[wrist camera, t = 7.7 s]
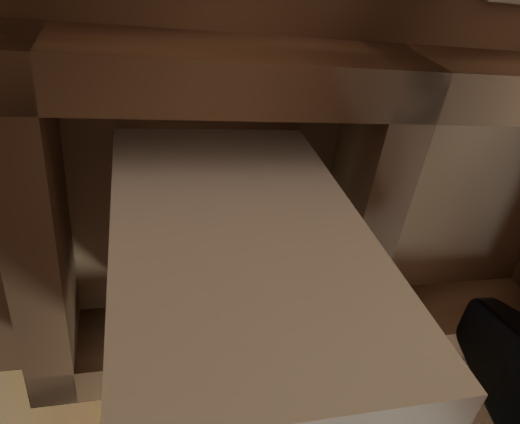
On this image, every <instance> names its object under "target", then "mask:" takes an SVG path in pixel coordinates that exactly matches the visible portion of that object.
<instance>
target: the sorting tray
mask: <svg viewBox="0 0 520 424" xmlns="http://www.w3.org/2000/svg"><path fill="white" fill-rule="evenodd" d="M114 128H136V129H252V130H300V131H301V132H302V134H303V135H304V137H305V138H306V139H307V141H308V142H309V144H310V145H311V146H312V148H313V149H314V151H315V152H316V154H317V155H318V156H319V158H320V159H321V161H322V162H323V163H324V165H325V166H326V168H327V169H328V170H329V172H330V173H331V175H332V176H333V177H334V179H335V180H336V182H337V183H338V184H339V186H340V187H341V189H342V190H343V192H344V193H345V194H346V196H347V197H348V199H349V200H350V201H351V203H352V204H353V206H354V207H355V208H356V210H357V211H358V213H359V214H360V215H361V217H362V218H363V220H364V221H365V222H366V224H367V225H368V227H369V228H370V230H371V231H372V232H373V234H374V235H375V237H376V238H377V239H378V241H379V242H380V244H381V245H382V246H383V248H384V249H385V251H386V252H387V253H388V255H389V256H390V258H391V259H392V261H393V262H394V263H395V265H396V266H397V268H398V269H399V270H400V272H401V273H402V275H403V276H404V277H405V279H406V280H407V282H408V283H409V284H410V286H411V287H412V289H413V290H414V291H415V293H416V294H417V296H418V297H419V299H420V300H421V301H422V303H423V304H424V306H425V307H426V308H427V310H428V311H429V313H430V314H431V315H432V317H433V318H434V320H435V321H436V322H437V324H438V325H439V327H440V328H441V329H442V331H443V332H444V334H445V335H446V337H447V338H448V339H449V341H450V342H451V344H452V345H453V346H454V348H455V349H456V351H457V352H458V353H459V355H460V356H461V357H464V355H463V353H462V351H461V348H460V346H459V344H458V341H457V337H456V328H457V326H458V323H459V321H460V319H461V317H462V315H463V313H464V311H465V308H466V306H467V304H468V302H469V301H470V300H471V299H473V298H479V297H494V298H496V299H498V300H500V301H502V302H503V303H505V304H507V305H509V306H511V307H512V308H514V309H516V310H518V311H519V312H520V0H0V371H10V370H20V369H22V371H23V375H24V380H25V384H26V389H27V393H28V398H29V402H30V407H31V408H37V407H46V406H54V405H63V404H71V403H79V402H88V401H96V400H102V382H103V360H104V337H105V315H106V293H107V270H108V248H109V226H110V203H111V181H112V159H113V137H114Z"/></svg>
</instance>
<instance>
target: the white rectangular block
mask: <svg viewBox="0 0 520 424" xmlns="http://www.w3.org/2000/svg"><path fill="white" fill-rule="evenodd" d="M487 396H488V394H487V393H486V391H485V390H484V389H483V387H482V386H481V384H480V383H479V382H478V380H477V379H476V377H475V376H474V375H473V373H472V372H471V370H470V369H469V367H468V366H467V365H466V363H465V362H464V360H463V359H462V358H461V356H460V355H459V353H458V352H457V351H456V349H455V348H454V346H453V345H452V344H451V342H450V341H449V339H448V338H447V337H446V335H445V334H444V332H443V331H442V329H441V328H440V327H439V325H438V324H437V322H436V321H435V320H434V318H433V317H432V315H431V314H430V313H429V311H428V310H427V308H426V307H425V306H424V304H423V303H422V301H421V300H420V299H419V297H418V296H417V294H416V293H415V291H414V290H413V289H412V287H411V286H410V284H409V283H408V282H407V280H406V279H405V277H404V276H403V275H402V273H401V272H400V270H399V269H398V268H397V266H396V265H395V263H394V262H393V261H392V259H391V258H390V256H389V255H388V253H387V252H386V251H385V249H384V248H383V246H382V245H381V244H380V242H379V241H378V239H377V238H376V237H375V235H374V234H373V232H372V231H371V230H370V228H369V227H368V225H367V224H366V222H365V221H364V220H363V218H362V217H361V215H360V214H359V213H358V211H357V210H356V208H355V207H354V206H353V204H352V203H351V201H350V200H349V199H348V197H347V196H346V194H345V193H344V192H343V190H342V189H341V187H340V186H339V184H338V183H337V182H336V180H335V179H334V177H333V176H332V175H331V173H330V172H329V170H328V169H327V168H326V166H325V165H324V163H323V162H322V161H321V159H320V158H319V156H318V155H317V154H316V152H315V151H314V149H313V148H312V146H311V145H310V144H309V142H308V141H307V139H306V138H305V137H304V135H303V134H302V132H301V131H300V130H252V129H136V128H114V137H113V159H112V181H111V203H110V226H109V248H108V270H107V293H106V315H105V337H104V360H103V382H102V404H101V424H472V422H473V421H474V419H475V417H476V415H477V414H478V412H479V410H480V408H481V406H482V405H483V403H484V401H485V399H486V398H487Z"/></svg>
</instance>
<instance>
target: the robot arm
mask: <svg viewBox="0 0 520 424" xmlns="http://www.w3.org/2000/svg"><path fill="white" fill-rule="evenodd" d="M456 337H457V341H458V344H459V346H460V348H461V351H462V353H463V355H464V358H465V360H466V362H467V365H468V367H469V369H470V370H471V372H472V373H473V375H474V376H475V377H476V379H477V380H478V382H479V383H480V384H481V386H482V387H483V389H484V390H485V391H486V393H487V394H488V396H487V398H486V399H485V401H484V404H485V406H486V409H487V411H488V413H489V415H490V417H491V419H492V421H493V423H494V424H520V312H519V311H518V310H516V309H514V308H512V307H511V306H509V305H507V304H505V303H503V302H502V301H500V300H498V299H496V298H494V297H479V298H473V299H471V300H470V301H469V302H468V304H467V306H466V308H465V311H464V313H463V315H462V317H461V319H460V321H459V323H458V326H457V328H456Z"/></svg>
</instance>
